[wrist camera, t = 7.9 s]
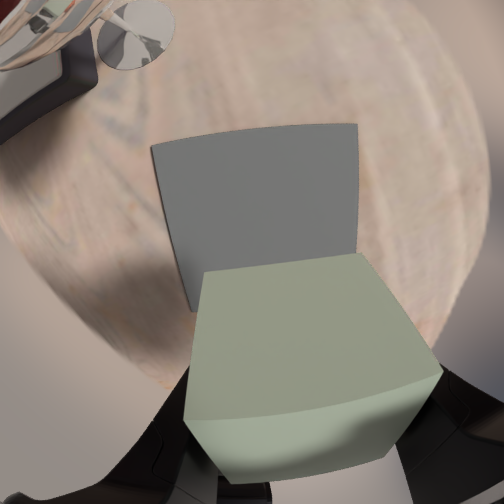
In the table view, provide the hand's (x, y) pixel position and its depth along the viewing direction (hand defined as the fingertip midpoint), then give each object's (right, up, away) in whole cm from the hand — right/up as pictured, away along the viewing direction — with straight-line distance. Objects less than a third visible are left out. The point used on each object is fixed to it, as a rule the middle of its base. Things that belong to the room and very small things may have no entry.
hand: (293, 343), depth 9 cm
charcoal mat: (0, +5, +9) cm, 10 cm away
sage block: (0, 0, +1) cm, 1 cm away
